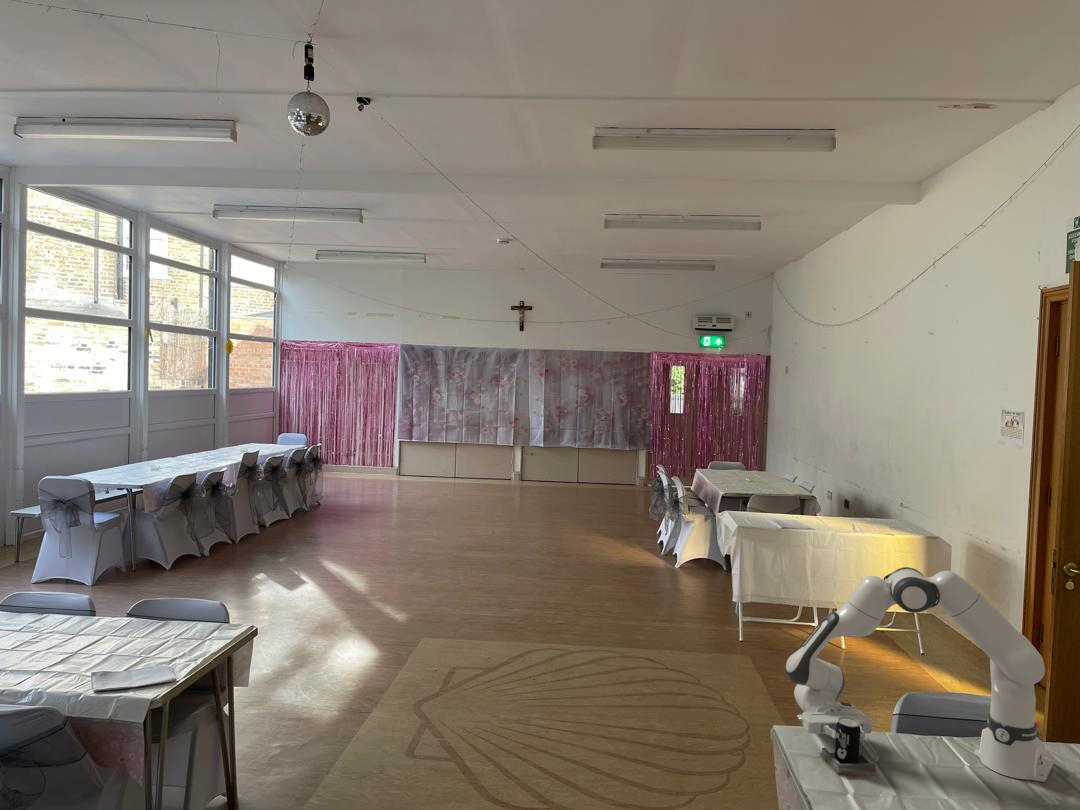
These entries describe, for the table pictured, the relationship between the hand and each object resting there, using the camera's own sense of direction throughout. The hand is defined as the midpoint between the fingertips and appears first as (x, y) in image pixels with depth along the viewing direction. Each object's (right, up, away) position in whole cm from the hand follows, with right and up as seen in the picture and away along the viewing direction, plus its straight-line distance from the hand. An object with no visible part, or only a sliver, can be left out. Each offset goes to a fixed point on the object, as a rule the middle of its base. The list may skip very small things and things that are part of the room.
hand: (849, 735), depth 212 cm
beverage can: (0, -8, +1) cm, 8 cm away
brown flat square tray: (0, -9, +1) cm, 9 cm away
